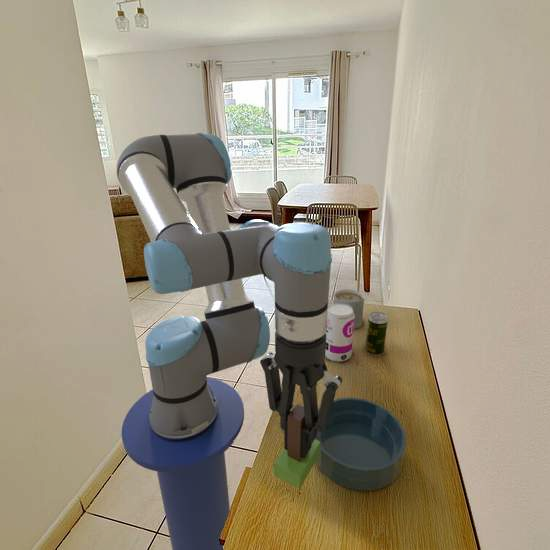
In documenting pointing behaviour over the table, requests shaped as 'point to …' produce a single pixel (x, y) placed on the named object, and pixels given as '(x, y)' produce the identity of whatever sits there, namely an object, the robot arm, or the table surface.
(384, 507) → the table surface
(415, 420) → the table surface
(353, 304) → the coffee mug
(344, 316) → the supplement can
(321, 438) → the bowl
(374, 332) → the beer can
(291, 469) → the sponge brush
